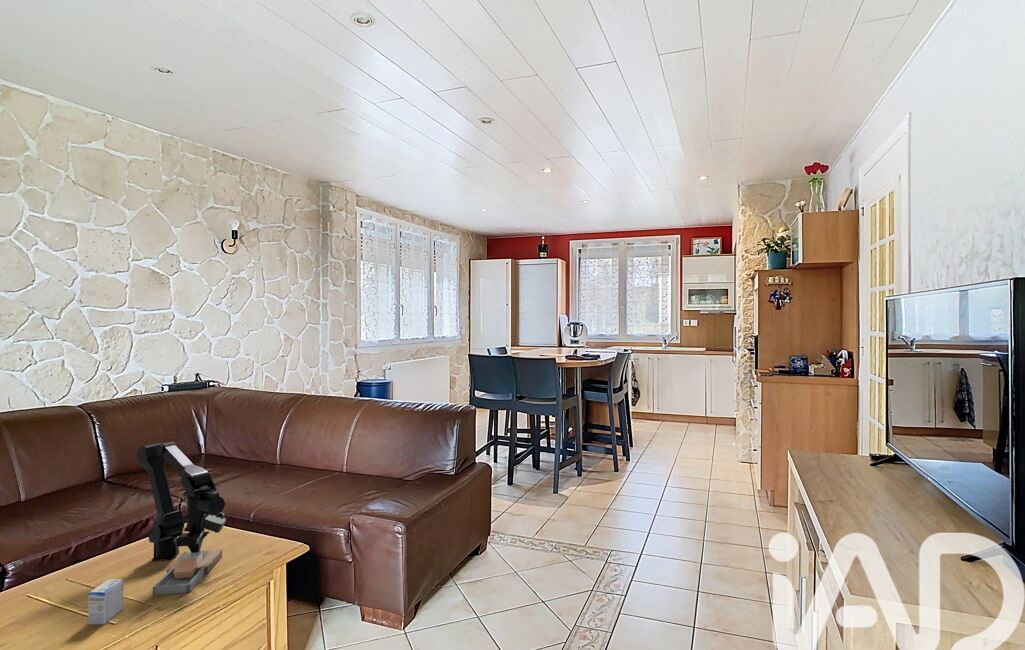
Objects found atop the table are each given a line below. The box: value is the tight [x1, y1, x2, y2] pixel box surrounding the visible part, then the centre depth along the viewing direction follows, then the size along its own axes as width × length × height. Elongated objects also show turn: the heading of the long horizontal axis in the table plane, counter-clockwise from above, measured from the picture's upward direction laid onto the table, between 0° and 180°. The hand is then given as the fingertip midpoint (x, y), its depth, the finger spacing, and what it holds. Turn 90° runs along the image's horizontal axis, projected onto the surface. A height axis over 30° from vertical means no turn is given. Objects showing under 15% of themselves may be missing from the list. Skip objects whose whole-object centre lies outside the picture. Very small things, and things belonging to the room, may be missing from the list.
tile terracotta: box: [173, 559, 198, 578], centre depth 175 cm, size 5×5×2 cm
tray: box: [152, 568, 205, 596], centre depth 171 cm, size 10×12×2 cm
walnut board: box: [166, 549, 223, 576], centre depth 184 cm, size 12×14×2 cm
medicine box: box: [87, 578, 124, 626], centre depth 152 cm, size 8×4×9 cm, turn 5°
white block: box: [180, 552, 203, 566], centre depth 181 cm, size 5×5×2 cm
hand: (196, 556), depth 184 cm, fingers closed
